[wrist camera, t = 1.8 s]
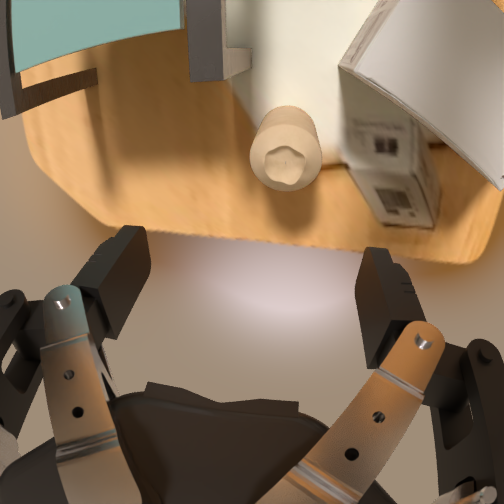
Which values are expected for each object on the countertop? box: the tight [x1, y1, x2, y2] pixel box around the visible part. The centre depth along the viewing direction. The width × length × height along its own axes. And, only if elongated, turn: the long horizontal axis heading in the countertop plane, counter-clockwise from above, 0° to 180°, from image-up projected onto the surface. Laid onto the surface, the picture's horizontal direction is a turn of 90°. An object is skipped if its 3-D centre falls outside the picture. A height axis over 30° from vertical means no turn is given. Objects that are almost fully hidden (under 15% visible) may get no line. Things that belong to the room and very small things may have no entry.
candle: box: [250, 106, 322, 191], centre depth 27 cm, size 6×6×10 cm
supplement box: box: [338, 0, 504, 191], centre depth 20 cm, size 17×13×9 cm
